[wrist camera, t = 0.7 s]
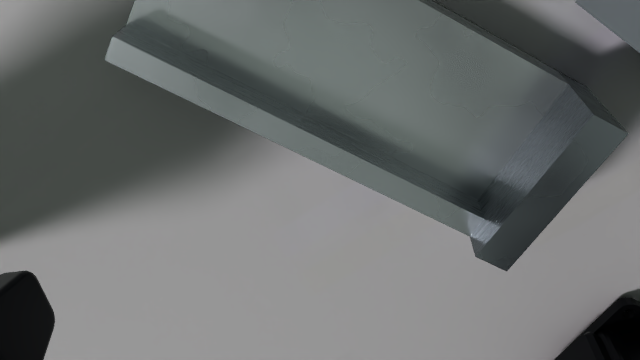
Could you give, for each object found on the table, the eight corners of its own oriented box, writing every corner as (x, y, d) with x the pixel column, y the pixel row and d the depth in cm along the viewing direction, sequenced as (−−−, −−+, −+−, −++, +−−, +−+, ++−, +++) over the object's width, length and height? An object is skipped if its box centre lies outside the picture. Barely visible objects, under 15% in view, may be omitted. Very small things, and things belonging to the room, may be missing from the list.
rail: (586, 87, 20) (628, 133, 17) (486, 211, 22) (506, 271, 19) (192, -135, 17) (156, -128, 14) (130, 35, 20) (89, 72, 17)
